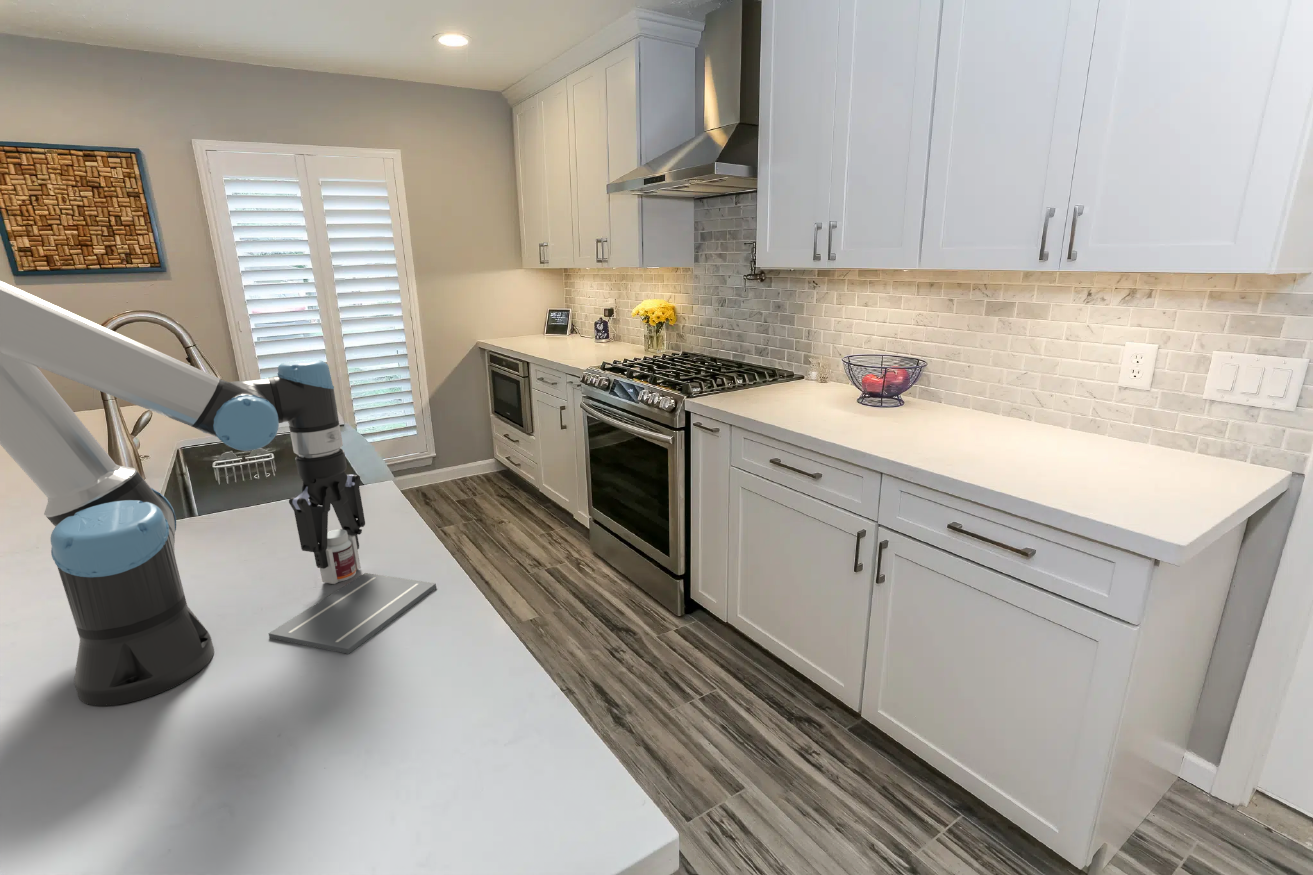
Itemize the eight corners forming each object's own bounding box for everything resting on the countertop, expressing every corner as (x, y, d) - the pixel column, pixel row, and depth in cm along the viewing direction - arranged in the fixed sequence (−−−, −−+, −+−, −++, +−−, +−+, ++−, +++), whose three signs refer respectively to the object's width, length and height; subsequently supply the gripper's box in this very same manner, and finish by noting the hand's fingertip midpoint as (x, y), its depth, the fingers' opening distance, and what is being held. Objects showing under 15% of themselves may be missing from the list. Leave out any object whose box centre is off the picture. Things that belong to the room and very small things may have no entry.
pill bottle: (321, 579, 114) (313, 536, 112) (345, 568, 118) (337, 526, 116) (339, 585, 112) (331, 541, 110) (362, 573, 116) (355, 530, 114)
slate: (348, 653, 92) (347, 648, 91) (269, 637, 96) (268, 633, 96) (436, 587, 110) (435, 583, 110) (366, 576, 115) (365, 572, 114)
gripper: (292, 469, 100) (318, 602, 106) (374, 438, 116) (393, 555, 122) (256, 465, 102) (284, 596, 108) (342, 436, 118) (361, 551, 124)
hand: (342, 574), depth 115 cm, fingers closed on pill bottle, 5 cm apart
